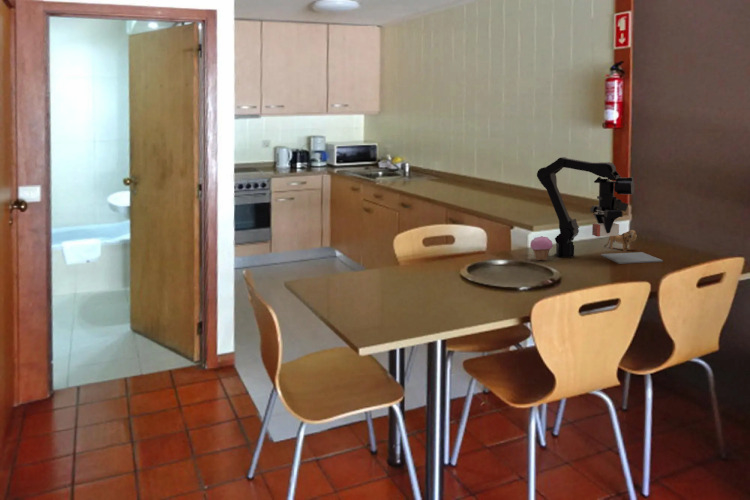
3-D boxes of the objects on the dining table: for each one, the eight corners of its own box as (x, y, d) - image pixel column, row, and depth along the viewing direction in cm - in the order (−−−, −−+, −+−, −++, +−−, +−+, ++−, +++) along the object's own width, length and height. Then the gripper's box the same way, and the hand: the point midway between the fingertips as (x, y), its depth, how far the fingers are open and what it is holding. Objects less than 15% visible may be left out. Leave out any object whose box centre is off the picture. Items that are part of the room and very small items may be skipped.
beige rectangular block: (618, 235, 270) (619, 224, 270) (597, 236, 270) (597, 225, 269) (613, 233, 276) (614, 222, 275) (592, 234, 275) (592, 223, 274)
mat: (618, 263, 265) (619, 262, 265) (600, 255, 283) (600, 254, 283) (662, 261, 266) (663, 260, 266) (642, 253, 284) (642, 252, 284)
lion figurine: (638, 250, 292) (639, 229, 290) (633, 252, 288) (633, 231, 287) (606, 246, 302) (606, 227, 301) (600, 248, 298) (601, 228, 297)
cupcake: (552, 258, 280) (552, 234, 278) (552, 262, 272) (552, 238, 270) (530, 257, 282) (530, 234, 281) (529, 262, 274) (529, 238, 272)
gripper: (636, 195, 261) (634, 234, 264) (616, 191, 279) (615, 228, 282) (608, 196, 260) (607, 236, 263) (590, 192, 279) (589, 229, 282)
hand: (605, 232), depth 273 cm, fingers closed on beige rectangular block, 5 cm apart
